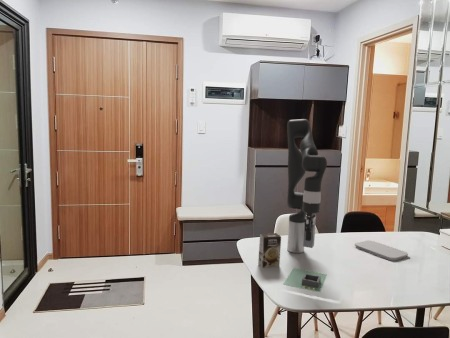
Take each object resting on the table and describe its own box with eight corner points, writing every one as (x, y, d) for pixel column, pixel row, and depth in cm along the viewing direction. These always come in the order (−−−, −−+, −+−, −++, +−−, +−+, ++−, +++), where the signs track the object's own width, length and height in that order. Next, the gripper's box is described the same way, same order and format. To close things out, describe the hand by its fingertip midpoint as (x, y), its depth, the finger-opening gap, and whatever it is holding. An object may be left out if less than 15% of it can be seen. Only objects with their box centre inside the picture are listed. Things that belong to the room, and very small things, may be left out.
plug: (305, 244, 163) (306, 221, 162) (313, 245, 161) (315, 222, 160) (303, 246, 159) (304, 223, 158) (312, 248, 158) (313, 224, 156)
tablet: (369, 243, 222) (369, 239, 221) (410, 257, 200) (410, 253, 200) (352, 247, 213) (352, 243, 213) (392, 262, 191) (392, 258, 191)
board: (293, 270, 176) (293, 263, 176) (326, 276, 170) (327, 269, 169) (282, 286, 158) (283, 278, 157) (320, 294, 152) (320, 286, 151)
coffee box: (262, 269, 176) (264, 237, 173) (257, 264, 182) (259, 233, 180) (279, 268, 178) (281, 236, 176) (274, 263, 184) (276, 232, 182)
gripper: (306, 197, 166) (304, 234, 168) (299, 202, 153) (296, 241, 155) (323, 199, 163) (320, 236, 165) (317, 204, 150) (314, 244, 152)
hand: (309, 238), depth 160 cm, fingers closed on plug, 4 cm apart
